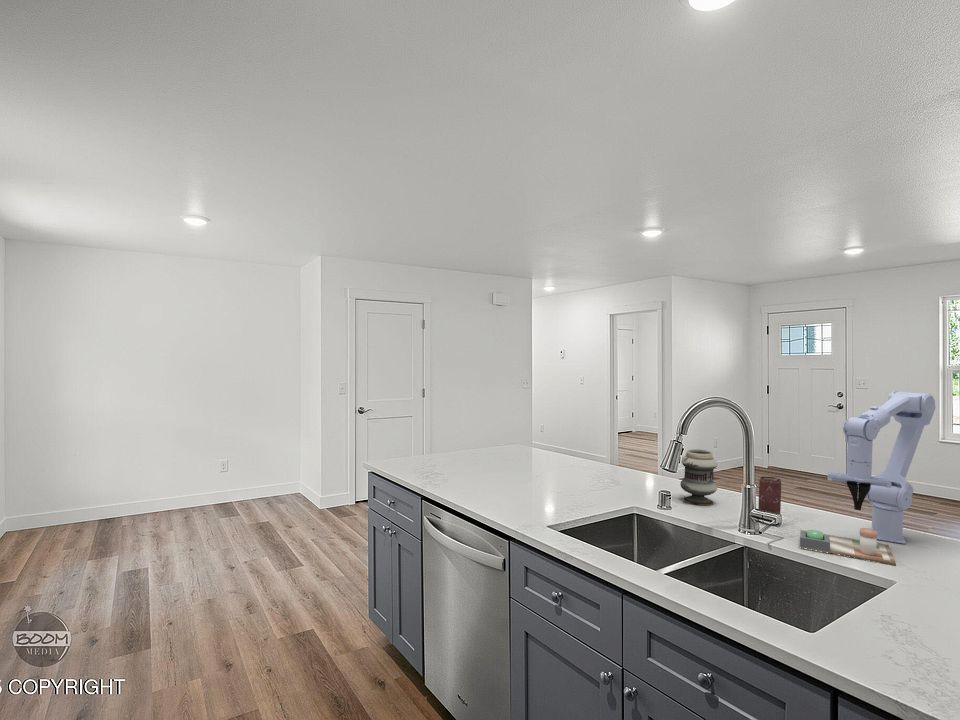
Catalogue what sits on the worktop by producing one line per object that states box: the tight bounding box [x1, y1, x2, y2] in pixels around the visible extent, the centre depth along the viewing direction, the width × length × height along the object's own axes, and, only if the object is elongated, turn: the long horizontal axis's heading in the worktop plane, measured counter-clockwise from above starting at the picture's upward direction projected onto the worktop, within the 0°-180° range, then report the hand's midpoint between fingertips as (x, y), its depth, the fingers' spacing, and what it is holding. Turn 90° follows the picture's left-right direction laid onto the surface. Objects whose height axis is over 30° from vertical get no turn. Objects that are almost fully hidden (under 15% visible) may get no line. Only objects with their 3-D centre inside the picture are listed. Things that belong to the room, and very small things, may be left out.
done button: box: [806, 529, 824, 540], centre depth 149 cm, size 4×4×3 cm
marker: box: [859, 527, 878, 555], centre depth 144 cm, size 4×4×6 cm
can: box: [757, 476, 782, 515], centre depth 170 cm, size 6×6×14 cm
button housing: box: [799, 530, 830, 552], centre depth 149 cm, size 7×7×2 cm
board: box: [799, 529, 897, 567], centre depth 149 cm, size 16×21×1 cm
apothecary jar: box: [680, 448, 718, 507], centre depth 192 cm, size 12×12×18 cm
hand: (857, 509), depth 152 cm, fingers closed
